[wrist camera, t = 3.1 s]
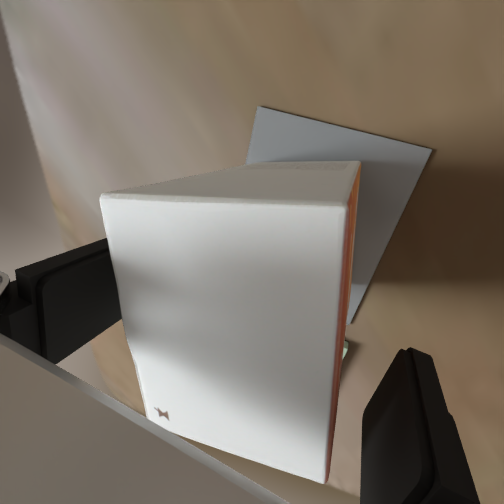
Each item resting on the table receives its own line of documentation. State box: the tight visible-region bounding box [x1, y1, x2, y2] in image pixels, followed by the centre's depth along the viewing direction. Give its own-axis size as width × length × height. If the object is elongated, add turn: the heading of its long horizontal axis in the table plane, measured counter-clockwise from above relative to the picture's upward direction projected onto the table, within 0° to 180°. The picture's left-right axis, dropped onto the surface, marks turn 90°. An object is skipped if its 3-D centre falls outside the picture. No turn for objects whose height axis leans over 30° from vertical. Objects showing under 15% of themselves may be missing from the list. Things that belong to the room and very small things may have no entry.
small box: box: [100, 161, 361, 484], centre depth 13 cm, size 8×6×13 cm
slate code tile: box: [245, 106, 432, 325], centre depth 19 cm, size 12×10×1 cm
